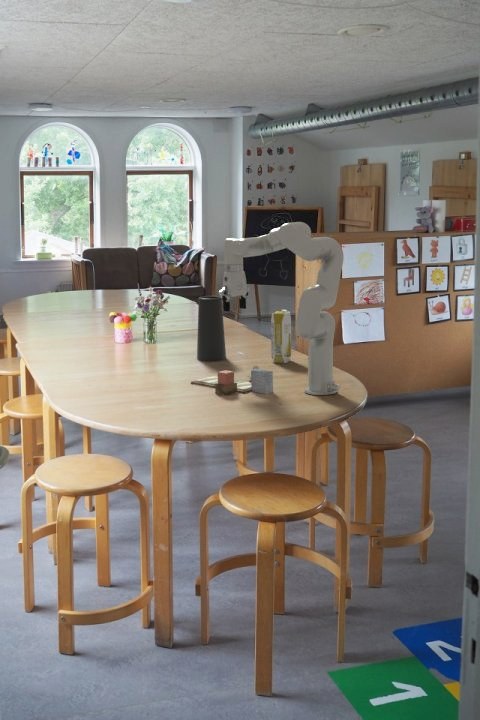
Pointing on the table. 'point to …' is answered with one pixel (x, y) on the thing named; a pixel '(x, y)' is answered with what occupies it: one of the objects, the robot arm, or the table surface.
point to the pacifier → (254, 369)
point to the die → (225, 377)
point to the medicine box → (262, 381)
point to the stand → (225, 389)
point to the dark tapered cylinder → (210, 329)
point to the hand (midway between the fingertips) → (234, 309)
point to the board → (210, 382)
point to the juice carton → (281, 336)
